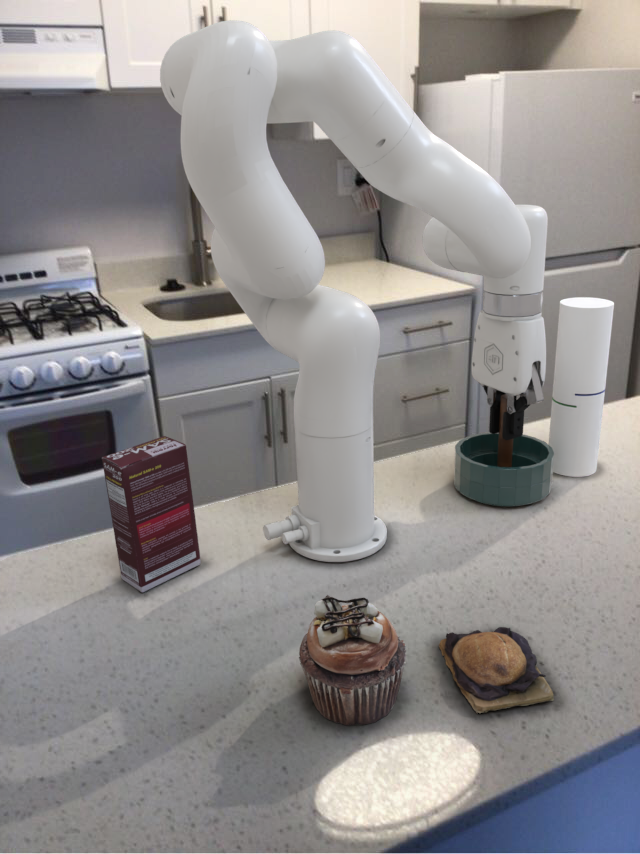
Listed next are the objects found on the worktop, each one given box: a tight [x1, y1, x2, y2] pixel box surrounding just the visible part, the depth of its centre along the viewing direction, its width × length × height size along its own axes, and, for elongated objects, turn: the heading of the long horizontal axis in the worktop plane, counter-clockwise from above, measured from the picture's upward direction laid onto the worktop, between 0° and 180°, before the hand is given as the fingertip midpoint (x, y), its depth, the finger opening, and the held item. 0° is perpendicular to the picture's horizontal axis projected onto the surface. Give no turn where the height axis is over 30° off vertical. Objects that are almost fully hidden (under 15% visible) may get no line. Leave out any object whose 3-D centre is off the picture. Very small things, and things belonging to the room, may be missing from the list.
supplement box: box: [101, 435, 202, 593], centre depth 87 cm, size 9×5×16 cm, turn 134°
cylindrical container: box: [548, 296, 615, 478], centre depth 109 cm, size 7×7×25 cm
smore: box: [438, 626, 555, 714], centre depth 71 cm, size 11×8×4 cm
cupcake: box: [298, 594, 407, 726], centre depth 68 cm, size 10×10×10 cm
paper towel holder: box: [497, 394, 513, 467], centre depth 106 cm, size 4×4×13 cm
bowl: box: [453, 431, 554, 508], centre depth 107 cm, size 13×13×6 cm
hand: (505, 433), depth 105 cm, fingers closed on paper towel holder, 2 cm apart
